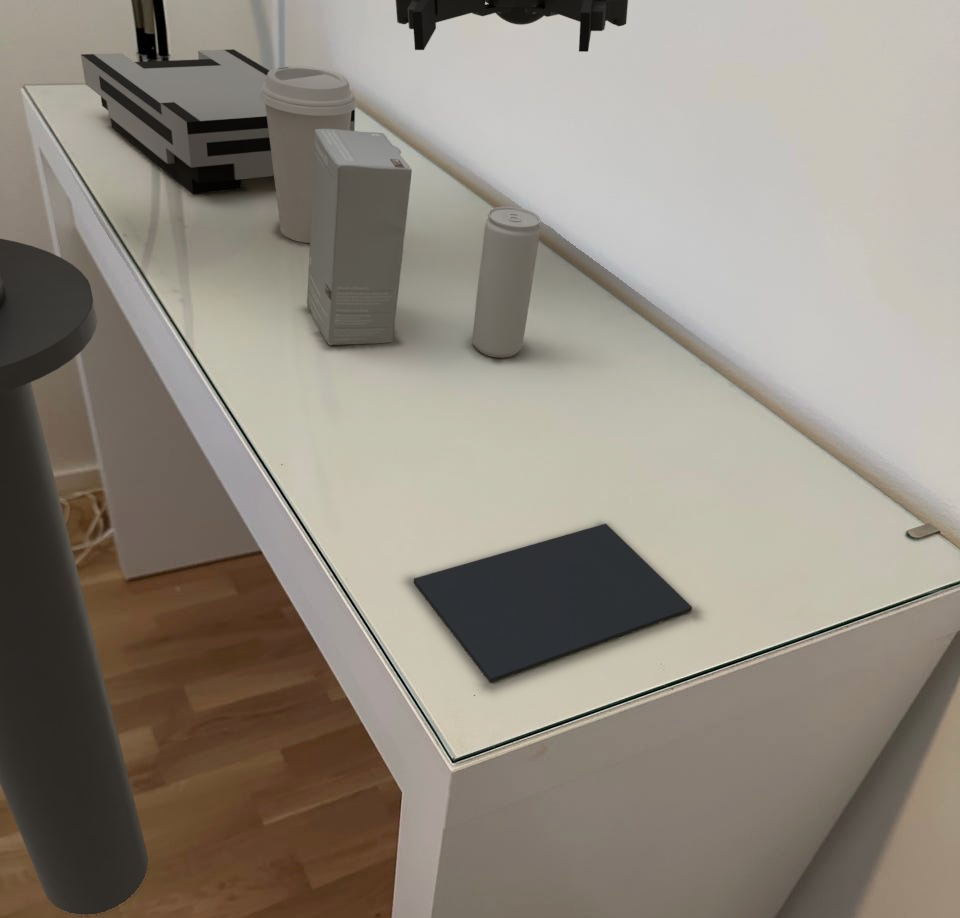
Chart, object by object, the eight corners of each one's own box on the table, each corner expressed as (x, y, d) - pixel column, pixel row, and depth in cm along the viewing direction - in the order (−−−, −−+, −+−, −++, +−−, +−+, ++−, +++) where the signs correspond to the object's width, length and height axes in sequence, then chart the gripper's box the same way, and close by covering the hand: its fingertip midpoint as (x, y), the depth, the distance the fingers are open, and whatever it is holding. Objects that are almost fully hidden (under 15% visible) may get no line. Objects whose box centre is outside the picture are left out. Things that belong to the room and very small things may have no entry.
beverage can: (471, 357, 84) (487, 223, 76) (470, 333, 88) (485, 203, 80) (523, 362, 85) (544, 229, 77) (520, 338, 88) (539, 209, 80)
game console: (237, 106, 131) (233, 39, 125) (353, 183, 114) (354, 109, 108) (90, 115, 120) (78, 43, 115) (194, 202, 104) (186, 122, 98)
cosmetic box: (305, 307, 88) (302, 125, 77) (377, 304, 90) (384, 127, 79) (327, 349, 82) (328, 160, 71) (403, 344, 85) (415, 160, 74)
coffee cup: (334, 212, 106) (335, 64, 96) (367, 245, 100) (372, 91, 90) (254, 218, 102) (245, 63, 92) (283, 252, 96) (278, 92, 86)
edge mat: (413, 582, 61) (413, 578, 61) (604, 527, 68) (605, 523, 68) (490, 683, 55) (491, 678, 55) (691, 611, 62) (692, 607, 62)
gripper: (650, 16, 90) (650, 85, 76) (401, 14, 93) (356, 81, 79) (659, -80, 85) (661, -24, 70) (394, -79, 87) (344, -25, 73)
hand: (500, 31), depth 74 cm, fingers open, 13 cm apart
